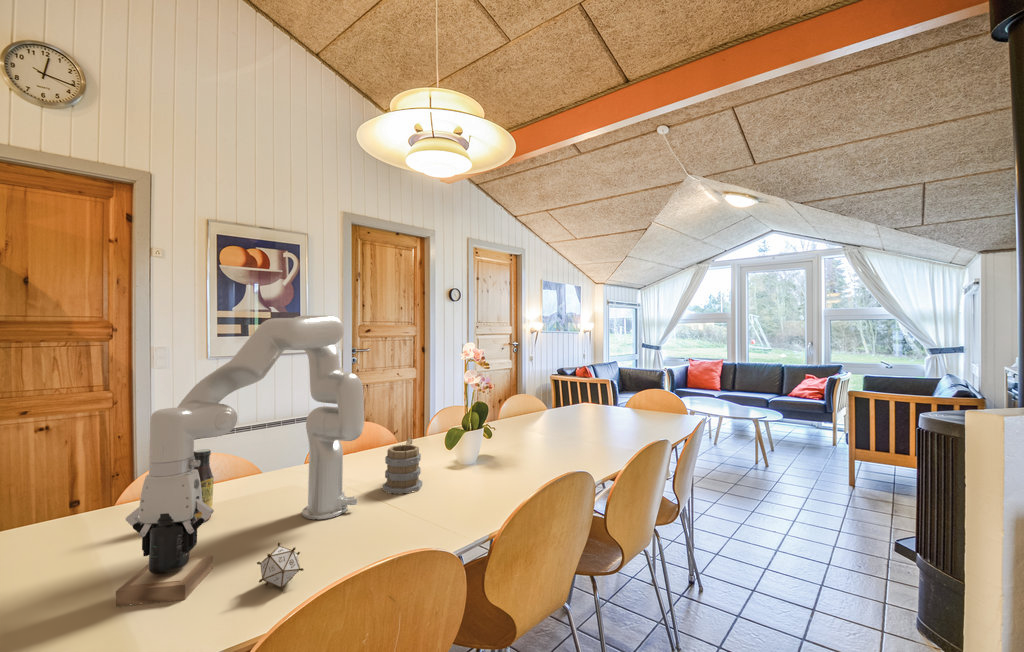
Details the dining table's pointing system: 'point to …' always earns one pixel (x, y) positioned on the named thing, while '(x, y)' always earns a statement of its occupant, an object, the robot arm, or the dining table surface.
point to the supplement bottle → (167, 546)
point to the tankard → (402, 468)
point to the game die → (280, 566)
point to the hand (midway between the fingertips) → (169, 550)
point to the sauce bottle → (205, 477)
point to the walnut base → (164, 583)
